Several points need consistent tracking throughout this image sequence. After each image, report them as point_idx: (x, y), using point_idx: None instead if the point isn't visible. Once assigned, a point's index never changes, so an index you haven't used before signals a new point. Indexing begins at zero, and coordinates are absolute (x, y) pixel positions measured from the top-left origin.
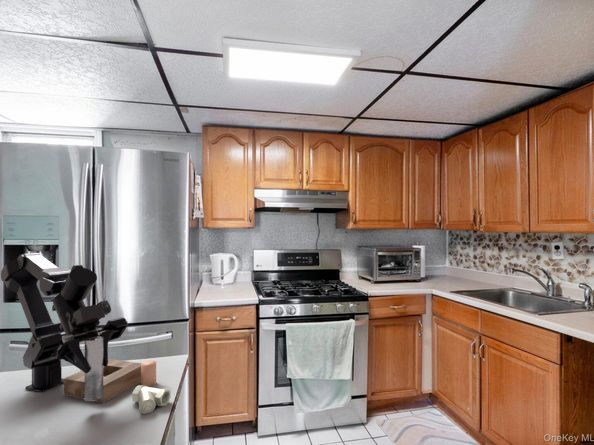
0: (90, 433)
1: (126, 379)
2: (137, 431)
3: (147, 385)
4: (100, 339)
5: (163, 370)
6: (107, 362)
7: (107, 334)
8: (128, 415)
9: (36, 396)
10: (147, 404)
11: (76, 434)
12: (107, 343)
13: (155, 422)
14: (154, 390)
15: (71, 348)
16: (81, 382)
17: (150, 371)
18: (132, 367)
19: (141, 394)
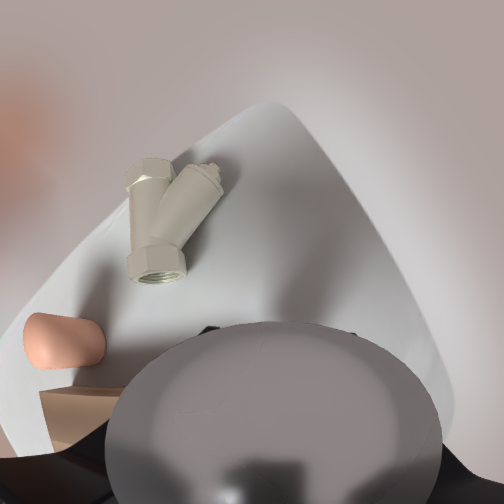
0: (353, 237)
1: (118, 392)
2: (280, 141)
3: (97, 328)
4: (223, 338)
5: (28, 369)
6: (207, 328)
7: (26, 476)
8: (242, 226)
9: None
10: (208, 166)
11: (375, 268)
12: (96, 433)
13: (233, 137)
14: (150, 192)
15: (489, 480)
16: None
17: (62, 318)
18: (71, 414)
19: (179, 218)
